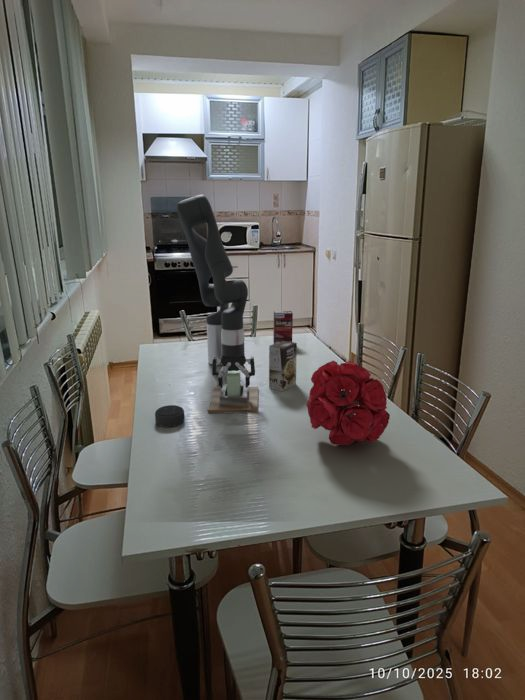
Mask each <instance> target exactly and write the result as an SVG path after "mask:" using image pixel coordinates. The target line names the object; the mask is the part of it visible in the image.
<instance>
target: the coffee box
mask: <svg viewBox="0 0 525 700" xmlns="http://www.w3.org/2000/svg"><path fill="white" fill-rule="evenodd" d="M297 345H298V344H297V342H293V341H292V342H288V341H281V342H278V343H276V344H274V343H273V344H271V345H269V346H268V350H269V353H268V388H269V389H273V390H276V391H280V392H284V391H286V390H287V389H289V388H292V387H294V386H295V385H297V356H298V355H297V354H298V353H297V351H298V349H297V348H298V346H297Z"/></svg>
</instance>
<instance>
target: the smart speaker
mask: <svg viewBox="0 0 525 700" xmlns="http://www.w3.org/2000/svg"><path fill="white" fill-rule="evenodd" d="M154 418H155V419H154V422H155V423H156V424H157V425H158V426H161V427H165V428H172V427H177V426H179V425H181V424H182V423H183V422H184V421H185V418H186V417H185V410H184V408H183V407H182V406H180V405H174V404H173V405H172V404H170V405H164V406H161V407H158V408H157V409H156V410H155V411H154Z"/></svg>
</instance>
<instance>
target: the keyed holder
mask: <svg viewBox="0 0 525 700" xmlns="http://www.w3.org/2000/svg"><path fill="white" fill-rule="evenodd" d="M240 385H241V395H240V396H227V383H225V384H223V387H222V388H220V386H214V387H213V390H212V394H211V398H210V400H209V404H208V408H207V413H208V414H218V413H219V414H226V413H227V414H231V413H232V414H234V413H235V414H238V413H239V414H240V413H241V414H243V413H247V412H248V413H247V414H249V413H253V414H254V413H255V414H256V413H258V411H259V409H258V407H259V386H248V388H246V384H243V383H242V384H241V383H240Z"/></svg>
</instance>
